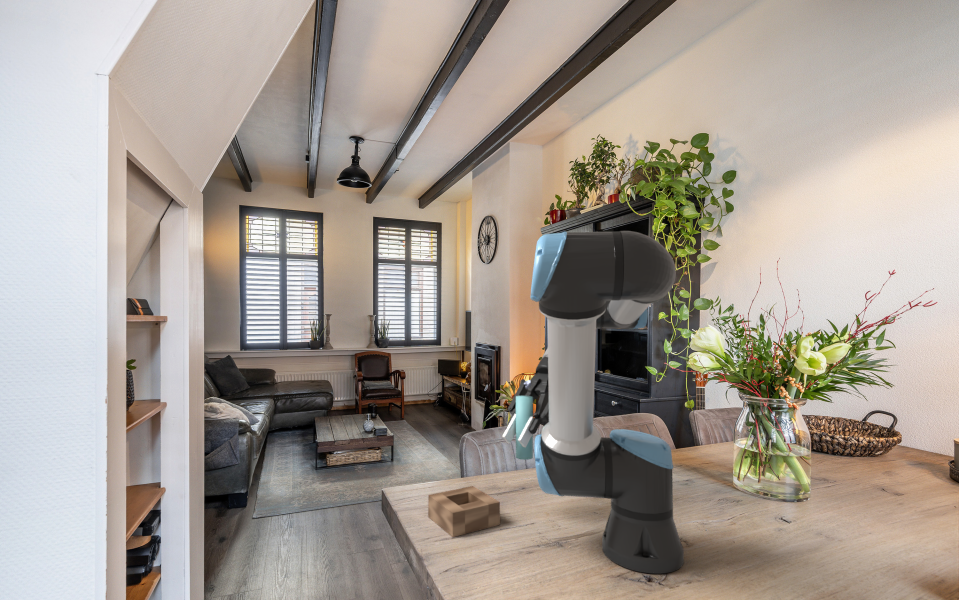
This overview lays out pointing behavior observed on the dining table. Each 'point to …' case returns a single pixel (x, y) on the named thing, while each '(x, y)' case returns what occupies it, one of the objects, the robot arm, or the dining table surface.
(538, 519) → the dining table surface
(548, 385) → the robot arm
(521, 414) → the dowel
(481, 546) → the dining table surface
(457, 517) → the socket block
